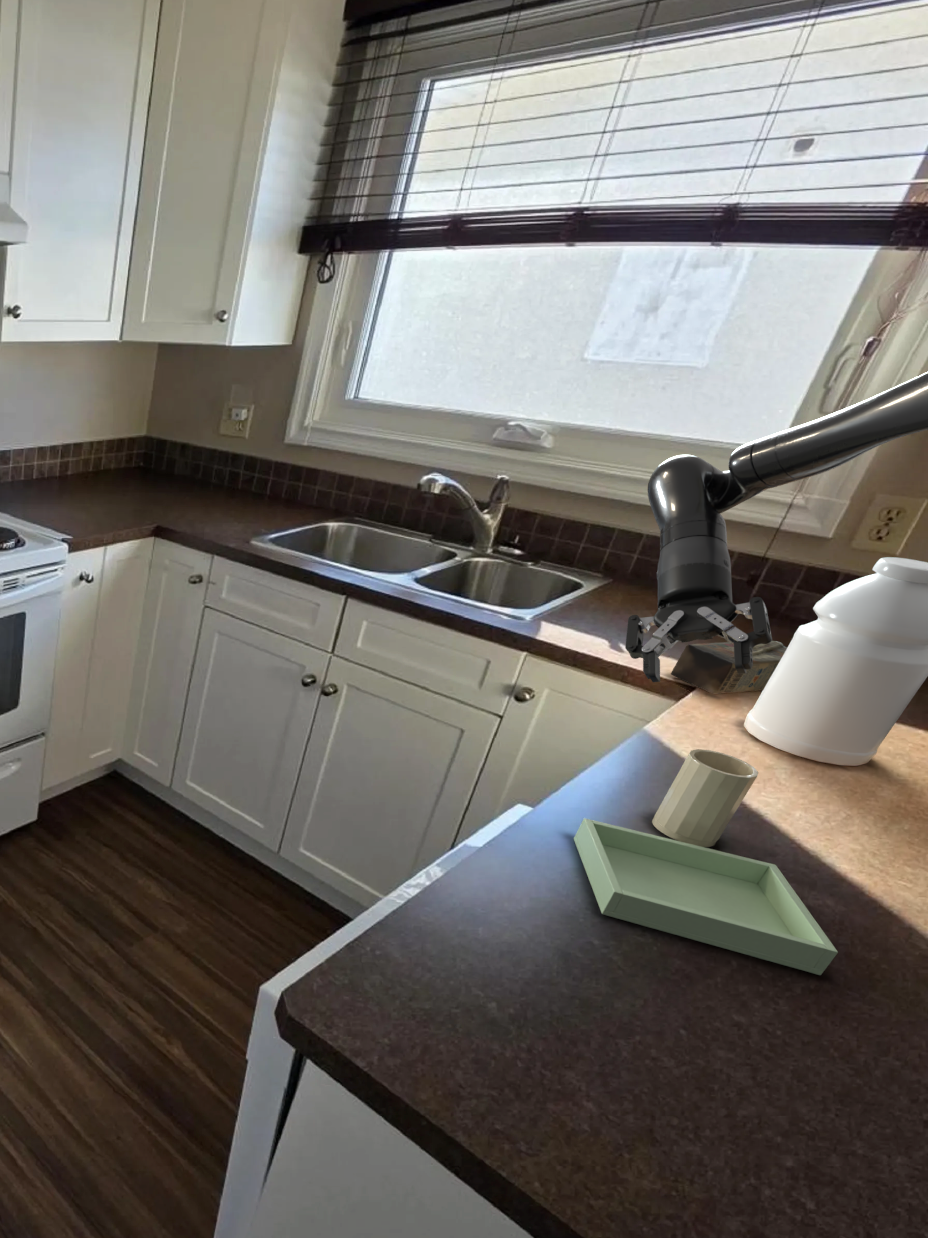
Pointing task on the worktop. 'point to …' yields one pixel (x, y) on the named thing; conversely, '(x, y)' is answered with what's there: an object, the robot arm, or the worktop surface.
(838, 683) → the bottle
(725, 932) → the tray
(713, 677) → the beverage carton
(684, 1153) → the worktop surface
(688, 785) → the cup
